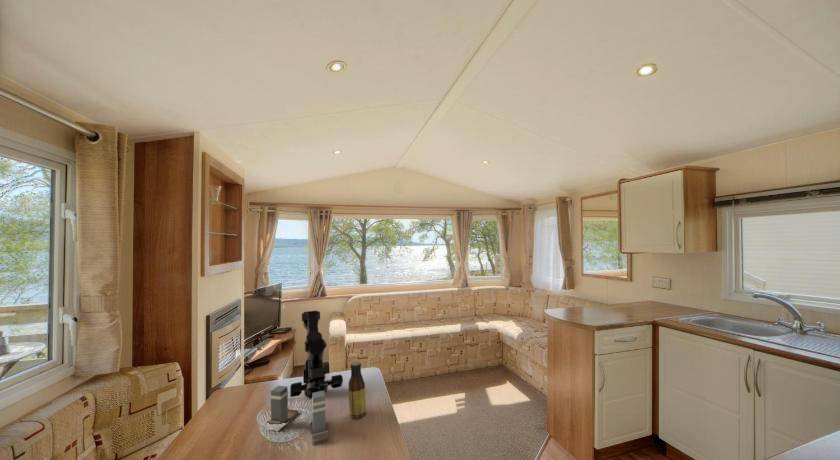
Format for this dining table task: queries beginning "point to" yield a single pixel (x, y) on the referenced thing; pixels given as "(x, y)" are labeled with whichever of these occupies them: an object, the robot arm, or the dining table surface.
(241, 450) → the dining table surface
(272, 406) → the one stripe post
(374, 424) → the dining table surface
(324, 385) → the robot arm
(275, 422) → the rail
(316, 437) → the rail
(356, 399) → the sauce bottle
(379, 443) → the dining table surface
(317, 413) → the two stripe post
